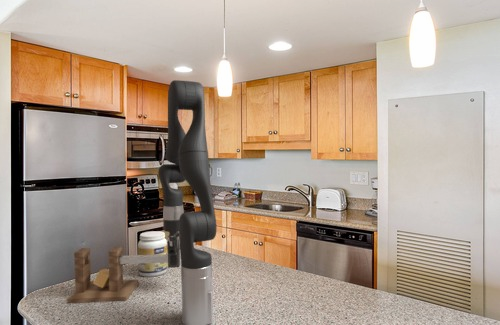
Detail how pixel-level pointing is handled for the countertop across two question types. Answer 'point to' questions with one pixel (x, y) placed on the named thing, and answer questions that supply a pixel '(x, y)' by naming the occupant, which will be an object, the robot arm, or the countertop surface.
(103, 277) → the ochre spacer
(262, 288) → the countertop surface
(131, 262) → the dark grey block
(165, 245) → the supplement tub
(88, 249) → the wooden shaft stand
